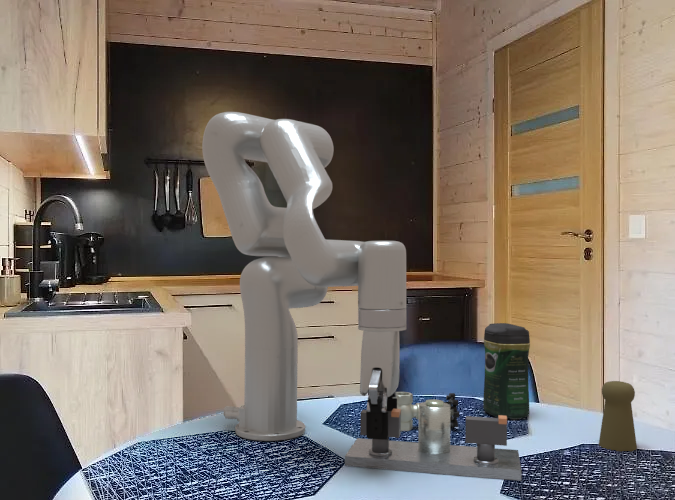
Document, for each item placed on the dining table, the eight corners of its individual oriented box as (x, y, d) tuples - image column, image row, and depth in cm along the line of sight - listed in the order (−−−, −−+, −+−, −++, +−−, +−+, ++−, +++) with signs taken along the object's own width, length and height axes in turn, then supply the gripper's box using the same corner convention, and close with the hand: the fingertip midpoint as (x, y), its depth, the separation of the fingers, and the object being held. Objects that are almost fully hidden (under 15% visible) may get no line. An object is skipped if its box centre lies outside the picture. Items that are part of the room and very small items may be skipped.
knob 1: (359, 451, 101) (360, 410, 101) (362, 447, 104) (363, 406, 104) (398, 454, 100) (398, 412, 100) (400, 449, 102) (401, 408, 102)
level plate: (344, 465, 100) (345, 406, 100) (357, 447, 110) (357, 392, 110) (521, 480, 94) (521, 417, 94) (518, 459, 104) (518, 402, 104)
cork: (637, 444, 113) (637, 380, 113) (637, 453, 108) (637, 386, 108) (599, 439, 116) (600, 377, 116) (597, 448, 110) (598, 383, 110)
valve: (394, 434, 118) (459, 433, 120) (394, 397, 118) (459, 397, 120) (388, 424, 125) (449, 423, 126) (388, 390, 125) (450, 389, 126)
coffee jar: (536, 419, 130) (536, 325, 130) (499, 421, 128) (500, 326, 128) (511, 408, 139) (512, 320, 139) (477, 410, 137) (478, 321, 137)
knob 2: (465, 460, 98) (465, 416, 98) (465, 454, 100) (466, 412, 100) (506, 463, 96) (507, 419, 96) (506, 458, 99) (506, 415, 99)
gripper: (368, 315, 111) (368, 416, 111) (347, 324, 94) (347, 444, 94) (412, 315, 109) (412, 418, 109) (398, 325, 93) (399, 447, 92)
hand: (382, 430), depth 102 cm, fingers open, 9 cm apart
